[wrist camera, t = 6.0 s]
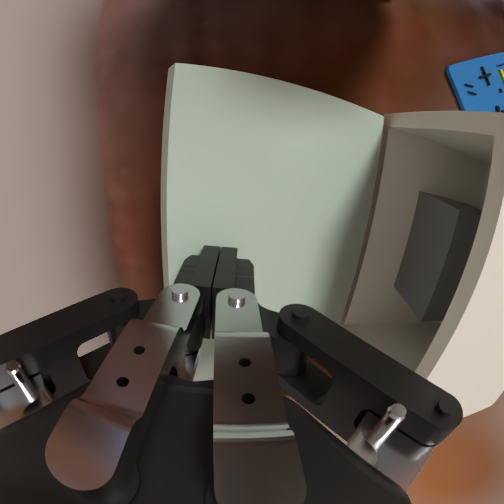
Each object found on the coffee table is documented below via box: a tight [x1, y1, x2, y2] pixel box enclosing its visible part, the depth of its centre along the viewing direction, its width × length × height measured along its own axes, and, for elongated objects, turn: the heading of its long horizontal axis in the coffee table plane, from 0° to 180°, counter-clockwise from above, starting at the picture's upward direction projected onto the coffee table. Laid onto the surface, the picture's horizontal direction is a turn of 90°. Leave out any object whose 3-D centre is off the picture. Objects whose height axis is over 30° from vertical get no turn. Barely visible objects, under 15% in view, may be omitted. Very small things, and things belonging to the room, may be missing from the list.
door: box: [161, 63, 384, 381], centre depth 16 cm, size 2×17×14 cm
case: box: [339, 111, 504, 417], centre depth 14 cm, size 12×18×12 cm, turn 175°
